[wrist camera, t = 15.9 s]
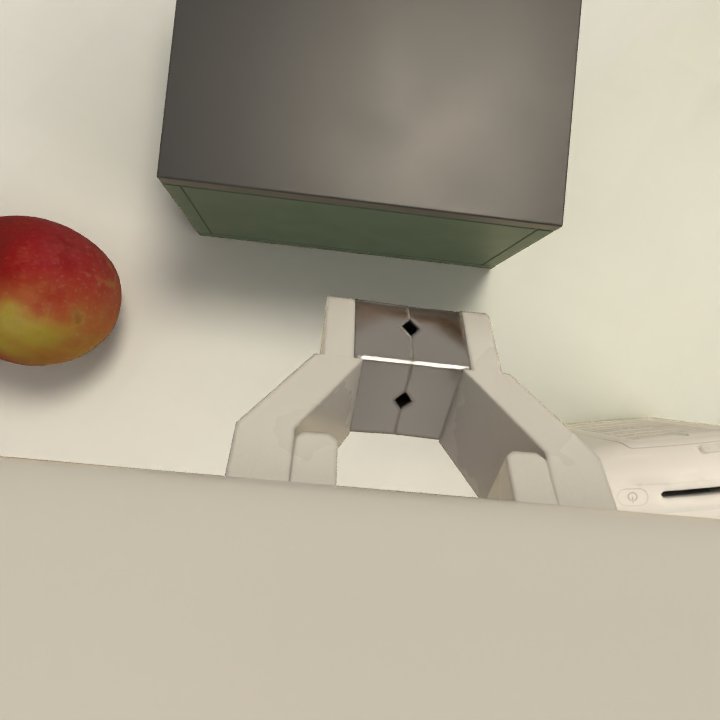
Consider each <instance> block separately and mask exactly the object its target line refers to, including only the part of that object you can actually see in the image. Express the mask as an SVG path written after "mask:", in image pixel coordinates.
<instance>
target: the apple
mask: <svg viewBox="0 0 720 720" xmlns="http://www.w3.org/2000/svg"><path fill="white" fill-rule="evenodd" d="M120 306H121V285H120V280H119V276H118V273H117V271H116V269H115V267H114V265H113V264H112V262H111V261H110V260H109V258H108V257H107V256H106V255H105V253H104V252H103V251H102V250H100V249H99V248H98V247H97V246H96V245H95V244H94V243H92V242H91V241H90V240H88V239H87V238H85V237H84V236H82V235H81V234H79V233H77V232H76V231H74V230H72V229H70V228H68V227H66V226H63V225H61V224H58V223H55V222H52V221H49V220H46V219H42V218H37V217H29V216H2V217H0V359H1V360H5V361H9V362H12V363H17V364H22V365H34V366H44V365H51V364H57V363H62V362H66V361H69V360H72V359H75V358H78V357H80V356H82V355H84V354H86V353H87V352H89V351H91V350H92V349H93V348H95V347H96V346H97V345H98V344H100V343H101V342H102V341H103V340H104V339H105V338H106V337H107V336H108V335H109V334H110V332H111V331H112V329H113V327H114V325H115V323H116V320H117V317H118V314H119V311H120Z"/></svg>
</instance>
